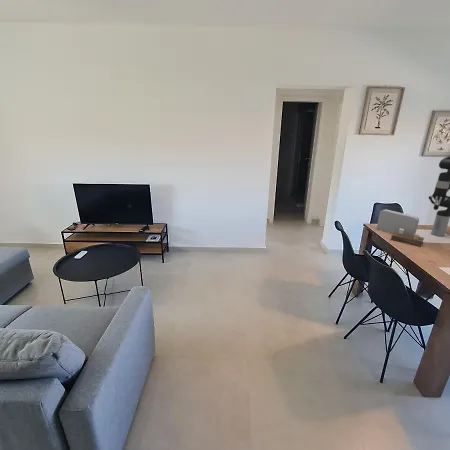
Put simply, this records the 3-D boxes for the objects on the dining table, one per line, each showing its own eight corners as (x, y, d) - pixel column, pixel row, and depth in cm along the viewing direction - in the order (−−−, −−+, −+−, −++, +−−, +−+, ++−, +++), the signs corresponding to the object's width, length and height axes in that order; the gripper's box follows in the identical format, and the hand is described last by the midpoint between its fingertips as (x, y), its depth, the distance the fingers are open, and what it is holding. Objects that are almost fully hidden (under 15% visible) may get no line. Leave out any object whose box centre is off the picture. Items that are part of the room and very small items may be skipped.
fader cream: (399, 232, 227) (400, 228, 226) (403, 233, 225) (404, 229, 224) (398, 233, 225) (399, 229, 224) (402, 234, 223) (403, 230, 222)
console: (394, 235, 231) (395, 231, 230) (422, 242, 219) (424, 237, 218) (390, 239, 222) (392, 235, 221) (420, 246, 210) (421, 241, 209)
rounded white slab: (415, 237, 229) (421, 216, 223) (411, 239, 225) (417, 218, 219) (380, 227, 251) (384, 208, 245) (376, 229, 246) (380, 209, 240)
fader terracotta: (413, 237, 216) (414, 233, 215) (418, 238, 214) (419, 234, 213) (413, 238, 214) (414, 234, 212) (417, 240, 212) (418, 235, 211)
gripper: (453, 187, 203) (446, 210, 208) (431, 185, 211) (425, 207, 216) (452, 189, 197) (445, 212, 203) (430, 186, 205) (424, 209, 211)
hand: (435, 209), depth 210 cm, fingers closed
